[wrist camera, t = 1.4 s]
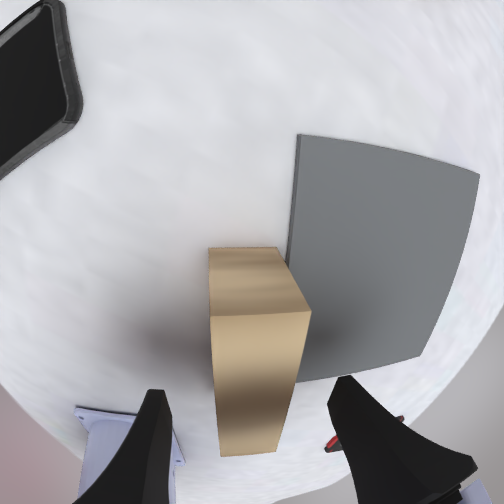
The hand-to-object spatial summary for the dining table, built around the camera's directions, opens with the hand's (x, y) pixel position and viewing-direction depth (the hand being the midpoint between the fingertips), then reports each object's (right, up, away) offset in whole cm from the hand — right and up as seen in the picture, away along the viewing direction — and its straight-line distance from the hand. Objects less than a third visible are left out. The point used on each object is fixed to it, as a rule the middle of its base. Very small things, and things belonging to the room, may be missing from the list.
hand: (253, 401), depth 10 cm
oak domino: (-1, +2, +4) cm, 5 cm away
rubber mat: (+7, +5, +4) cm, 10 cm away
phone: (-15, +13, -3) cm, 20 cm away
